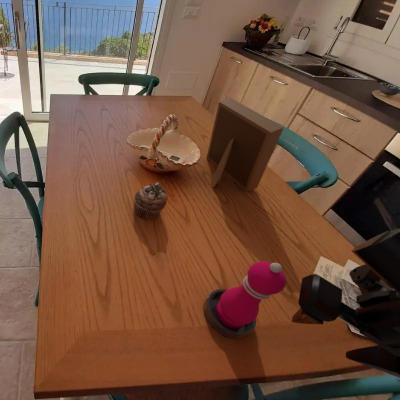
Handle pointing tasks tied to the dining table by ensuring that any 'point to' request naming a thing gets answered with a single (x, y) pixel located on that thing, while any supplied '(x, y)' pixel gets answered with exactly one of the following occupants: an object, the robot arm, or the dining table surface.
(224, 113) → the photo frame
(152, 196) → the cupcake
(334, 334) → the dining table surface
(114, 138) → the dining table surface
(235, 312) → the pepper mill
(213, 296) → the tray
